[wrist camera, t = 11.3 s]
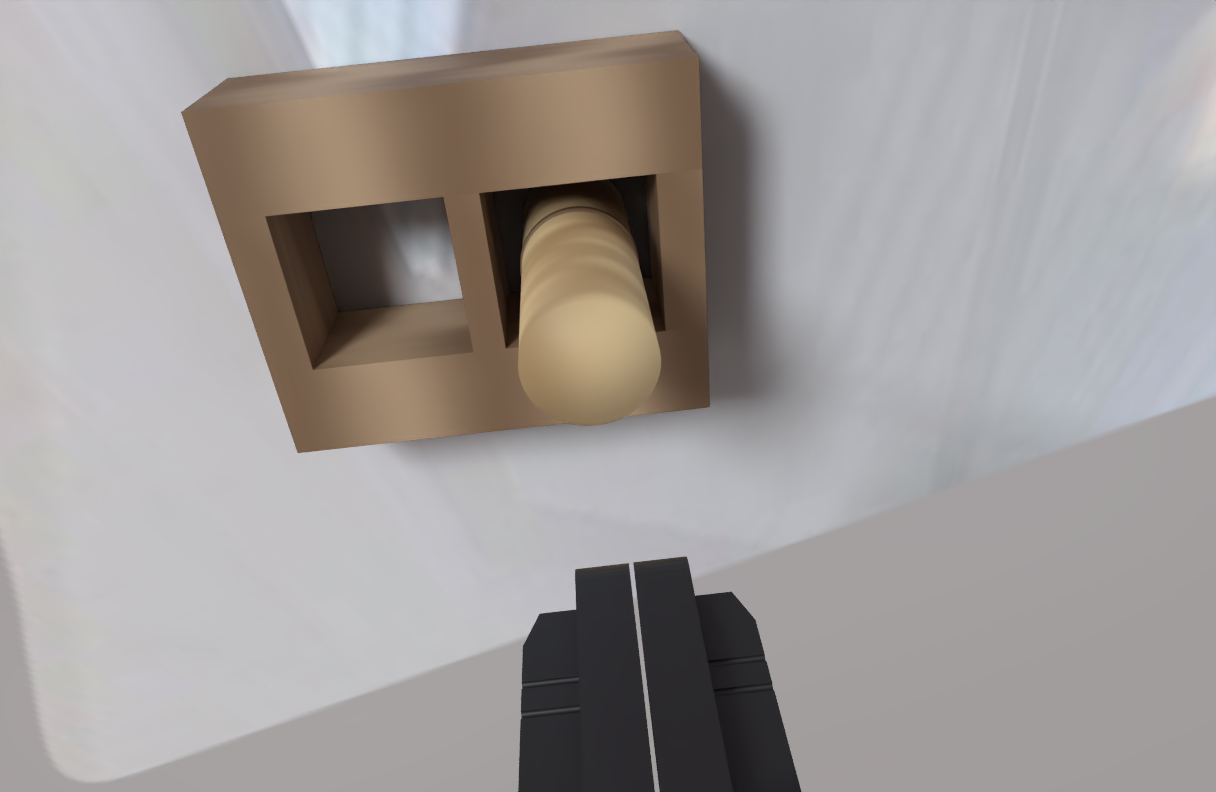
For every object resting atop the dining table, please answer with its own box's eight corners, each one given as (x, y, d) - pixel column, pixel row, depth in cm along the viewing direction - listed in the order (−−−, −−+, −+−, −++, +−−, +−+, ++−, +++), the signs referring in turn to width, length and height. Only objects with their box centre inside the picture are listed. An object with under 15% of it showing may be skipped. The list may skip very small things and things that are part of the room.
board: (678, 30, 26) (699, 56, 23) (691, 348, 32) (709, 406, 29) (227, 78, 26) (181, 112, 23) (323, 389, 32) (297, 453, 29)
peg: (622, 159, 28) (659, 291, 20) (630, 259, 30) (667, 418, 22) (515, 171, 28) (505, 308, 20) (529, 270, 30) (526, 434, 22)
